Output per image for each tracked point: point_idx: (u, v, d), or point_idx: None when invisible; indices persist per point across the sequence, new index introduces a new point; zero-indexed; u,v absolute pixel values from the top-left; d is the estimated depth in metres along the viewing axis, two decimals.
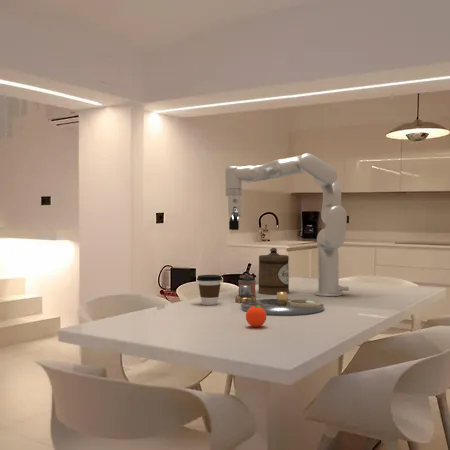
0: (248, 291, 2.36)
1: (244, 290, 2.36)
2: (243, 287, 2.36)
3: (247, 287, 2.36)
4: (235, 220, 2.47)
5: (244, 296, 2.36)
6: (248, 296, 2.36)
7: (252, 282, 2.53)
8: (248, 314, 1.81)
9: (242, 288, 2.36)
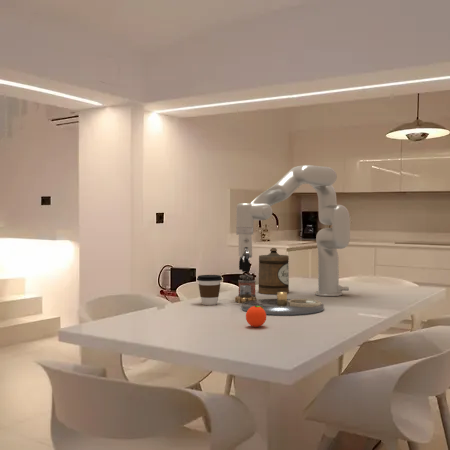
0: (248, 291, 2.36)
1: (244, 290, 2.36)
2: (243, 287, 2.36)
3: (247, 287, 2.36)
4: (246, 261, 2.32)
5: (244, 296, 2.36)
6: (248, 296, 2.36)
7: (252, 282, 2.53)
8: (248, 314, 1.81)
9: (242, 288, 2.36)
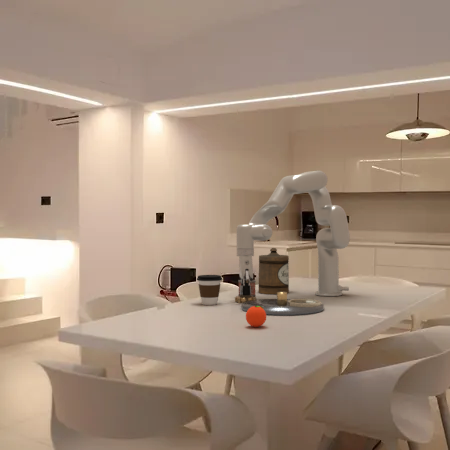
0: None
1: None
2: None
3: None
4: (246, 285, 2.34)
5: (244, 296, 2.36)
6: (248, 296, 2.36)
7: (252, 282, 2.53)
8: (248, 314, 1.81)
9: (242, 288, 2.36)
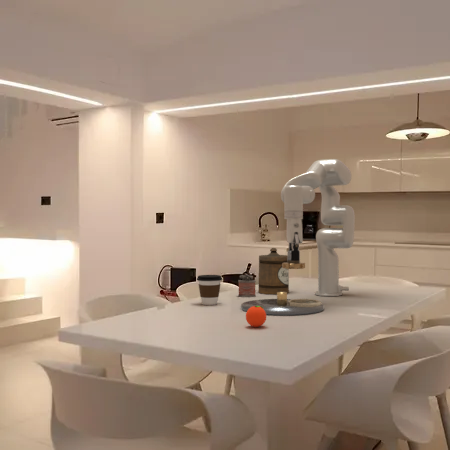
0: None
1: None
2: None
3: None
4: (295, 250, 2.19)
5: (292, 262, 2.21)
6: (297, 262, 2.21)
7: (252, 282, 2.53)
8: (248, 314, 1.81)
9: (290, 253, 2.21)
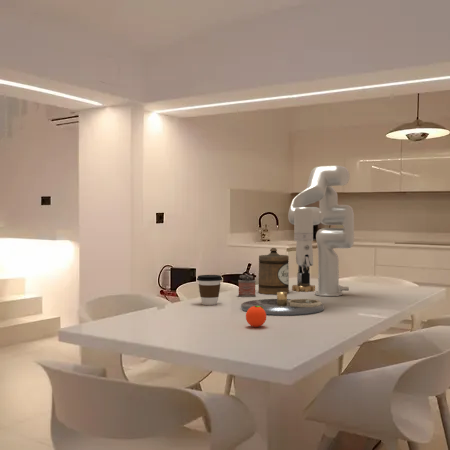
0: None
1: None
2: None
3: None
4: (306, 272, 2.16)
5: (303, 284, 2.18)
6: (307, 284, 2.18)
7: (252, 282, 2.53)
8: (248, 314, 1.81)
9: (300, 276, 2.18)
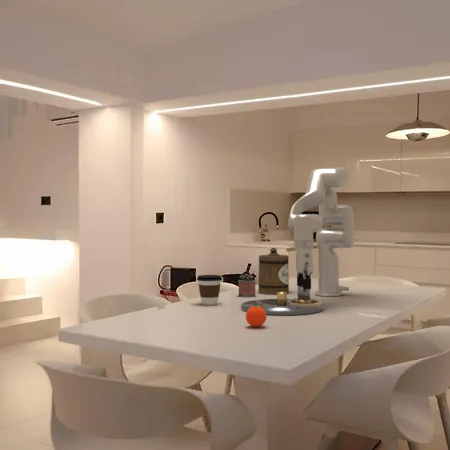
0: (308, 292, 2.18)
1: (303, 292, 2.18)
2: (302, 288, 2.18)
3: None
4: (307, 278, 2.14)
5: (303, 298, 2.18)
6: (307, 298, 2.18)
7: (252, 282, 2.53)
8: (248, 314, 1.81)
9: (301, 289, 2.18)
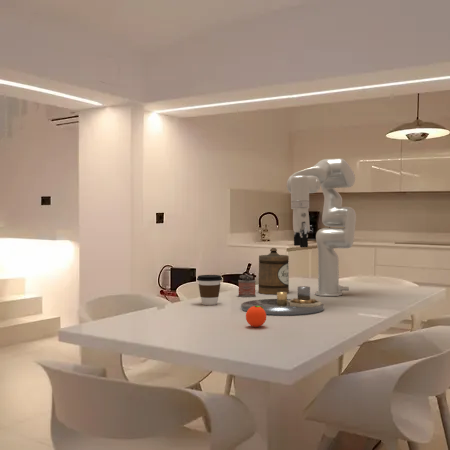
0: (308, 292, 2.18)
1: (303, 292, 2.18)
2: (302, 288, 2.18)
3: (306, 288, 2.18)
4: (304, 237, 2.21)
5: (303, 298, 2.18)
6: (307, 298, 2.18)
7: (252, 282, 2.53)
8: (248, 314, 1.81)
9: (301, 289, 2.18)
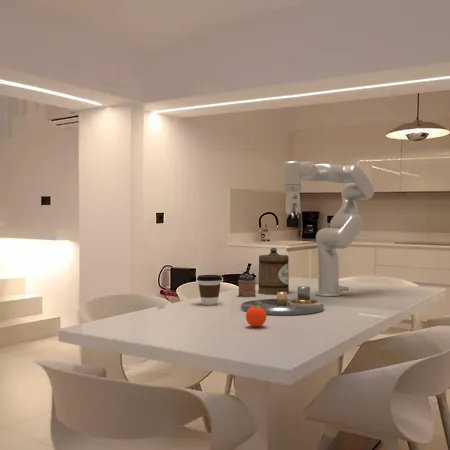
0: (308, 292, 2.18)
1: (303, 292, 2.18)
2: (302, 288, 2.18)
3: (306, 288, 2.18)
4: (295, 217, 2.38)
5: (303, 298, 2.18)
6: (307, 298, 2.18)
7: (252, 282, 2.53)
8: (248, 314, 1.81)
9: (301, 289, 2.18)
